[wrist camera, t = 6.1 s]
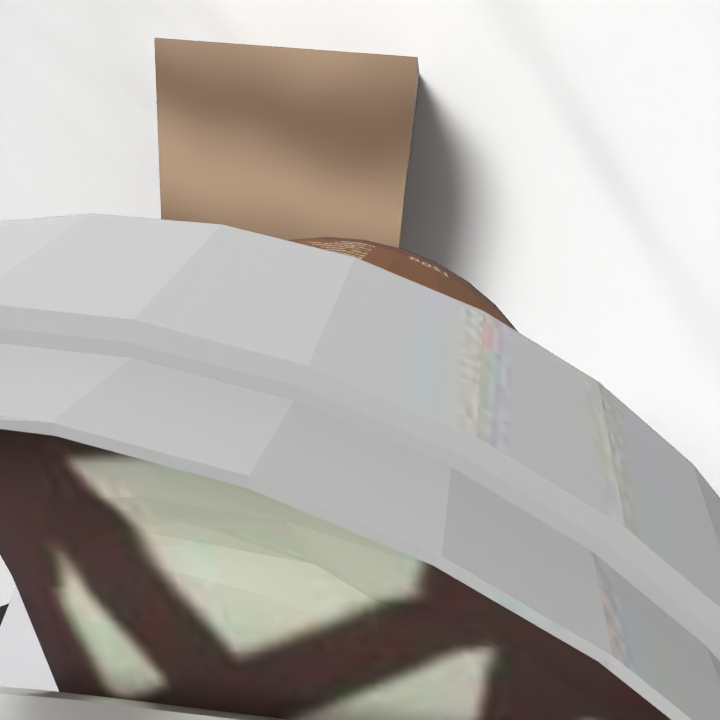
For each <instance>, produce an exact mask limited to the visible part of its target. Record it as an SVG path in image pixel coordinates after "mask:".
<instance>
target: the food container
mask: <svg viewBox="0 0 720 720" xmlns="http://www.w3.org/2000/svg"><path fill="white" fill-rule="evenodd" d="M0 555H1V557H2V559H3V560H4V562H5V564H6V566H7V567H8V569H9V571H10V573H11V575H12V577H13V579H14V581H15V584H16V586H17V589H18V591H19V594H20V596H21V599H22V601H23V604H24V606H25V609H26V611H27V614H28V616H29V619H30V621H31V623H32V626H33V628H34V631H35V633H36V636H37V638H38V641H39V643H40V646H41V648H42V651H43V653H44V656H45V658H46V660H47V663H48V665H49V668H50V670H51V673H52V675H53V678H54V680H55V683H56V685H57V688H58V690H59V692H66V693H74V694H83V695H92V696H100V697H109V698H118V699H126V700H135V701H143V702H151V703H159V704H167V705H175V706H183V707H191V708H199V709H207V710H215V711H223V712H231V713H240V714H248V715H256V716H264V717H272V718H280V719H288V720H720V498H719V496H718V495H717V494H716V493H715V491H714V490H713V489H712V488H711V486H710V485H709V484H708V483H707V481H706V480H705V479H704V478H703V476H702V475H701V474H700V473H699V471H698V470H697V469H696V468H695V466H694V465H693V464H692V463H691V462H690V461H689V460H688V459H686V458H685V457H684V456H683V455H682V454H681V453H679V452H678V451H677V450H676V449H675V448H674V447H673V446H671V445H670V444H669V443H668V442H667V441H666V440H665V439H663V438H662V437H661V436H660V435H659V434H658V433H657V432H655V431H654V430H653V429H652V428H651V427H650V426H649V425H647V424H646V423H645V422H644V421H643V420H642V419H640V418H639V417H638V416H637V415H636V414H635V413H634V412H632V411H631V410H630V409H629V408H628V407H627V406H626V405H624V404H623V403H622V402H621V401H620V400H619V399H618V398H616V397H615V396H614V395H613V394H612V393H611V392H610V391H608V390H607V389H606V388H605V387H604V386H603V385H601V384H600V383H599V382H598V381H596V380H595V379H593V378H591V377H590V376H588V375H587V374H585V373H583V372H582V371H580V370H578V369H577V368H575V367H574V366H572V365H570V364H569V363H567V362H566V361H564V360H562V359H561V358H559V357H557V356H556V355H554V354H553V353H551V352H549V351H548V350H546V349H544V348H543V347H541V346H540V345H538V344H536V343H535V342H533V341H531V340H530V339H528V338H527V337H525V336H523V335H522V334H520V333H519V332H518V331H517V330H516V329H515V327H514V326H513V325H512V324H511V323H510V322H509V320H508V319H507V318H506V317H505V316H504V315H503V313H502V312H501V311H500V310H499V309H498V307H497V306H496V305H495V304H494V303H492V302H491V301H490V300H489V299H488V298H487V297H485V296H484V295H483V294H482V293H481V292H479V291H478V290H477V289H476V288H475V287H473V286H472V285H471V284H470V283H469V282H468V281H466V280H464V279H463V278H461V277H459V276H458V275H456V274H454V273H452V272H451V271H449V270H447V269H446V268H444V267H442V266H441V265H439V264H437V263H436V262H433V261H431V260H428V259H426V258H423V257H421V256H419V255H416V254H414V253H411V252H409V251H406V250H404V249H401V248H397V247H393V246H389V245H385V244H380V243H376V242H372V241H367V240H362V239H349V238H336V237H317V238H305V239H293V240H283V239H279V238H275V237H271V236H267V235H263V234H258V233H254V232H250V231H246V230H242V229H238V228H234V227H230V226H226V225H222V224H210V223H198V222H186V221H174V220H162V219H150V218H138V217H126V216H114V215H102V214H80V215H69V216H57V217H45V218H33V219H21V220H9V221H0Z"/></svg>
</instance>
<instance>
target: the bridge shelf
mask: <svg viewBox="0 0 720 720" xmlns="http://www.w3.org/2000/svg"><path fill="white" fill-rule="evenodd" d="M155 64H156V91H157V117H158V143H159V169H160V196H161V219H162V220H174V221H186V222H198V223H210V224H222V225H226V226H230V227H234V228H238V229H242V230H246V231H250V232H254V233H258V234H263V235H267V236H271V237H275V238H279V239H283V240H293V239H305V238H317V237H336V238H349V239H362V240H367V241H372V242H376V243H380V244H385V245H389V246H393V247H397V248H399V246H400V236H401V226H402V216H403V206H404V196H405V186H406V176H407V168H408V167H409V165H410V160H411V151H412V141H413V131H414V121H415V111H416V101H417V92H418V82H419V66H418V58H417V57H408V56H394V55H381V54H367V53H353V52H340V51H326V50H313V49H299V48H286V47H272V46H258V45H245V44H231V43H218V42H204V41H190V40H177V39H163V38H155Z"/></svg>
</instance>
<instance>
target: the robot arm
mask: <svg viewBox="0 0 720 720" xmlns="http://www.w3.org/2000/svg"><path fill="white" fill-rule="evenodd" d="M0 720H288V719H280V718H272V717H264V716H256V715H248V714H240V713H231V712H223V711H215V710H207V709H199V708H191V707H183V706H175V705H167V704H159V703H151V702H143V701H135V700H126V699H118V698H109V697H100V696H92V695H83V694H74V693H66V692H59V690H58V688H57V685H56V683H55V680H54V678H53V675H52V673H51V670H50V668H49V665H48V663H47V660H46V658H45V656H44V653H43V651H42V648H41V646H40V643H39V641H38V638H37V636H36V633H35V631H34V628H33V626H32V623H31V621H30V619H29V616H28V614H27V611H26V609H25V606H24V604H23V601H22V599H21V596H20V594H19V591H18V589H17V586H16V588H15V590H14V593H13V595H12V598H11V600H10V603H9V604H6V605H4V606H1V607H0Z"/></svg>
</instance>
